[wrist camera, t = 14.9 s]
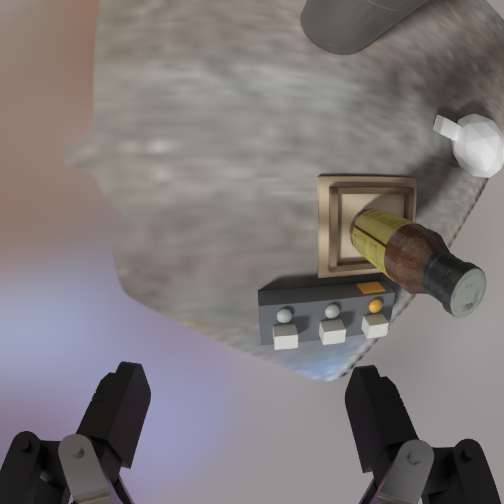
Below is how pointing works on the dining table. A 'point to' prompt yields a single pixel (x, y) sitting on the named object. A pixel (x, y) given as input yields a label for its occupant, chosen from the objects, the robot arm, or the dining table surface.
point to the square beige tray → (346, 209)
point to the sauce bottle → (418, 260)
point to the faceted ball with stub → (474, 143)
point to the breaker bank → (324, 313)
